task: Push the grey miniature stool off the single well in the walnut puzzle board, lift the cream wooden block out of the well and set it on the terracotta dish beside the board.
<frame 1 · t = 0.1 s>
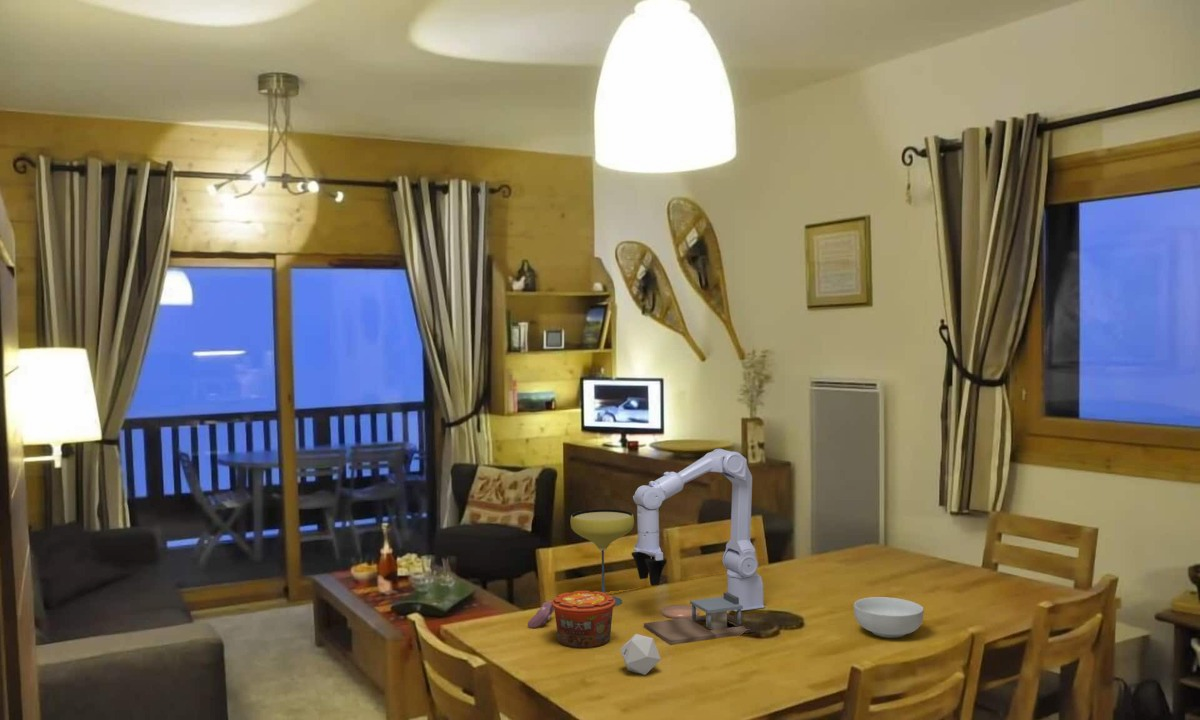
hand: (649, 581, 261), 10 cm above the table, fingers open, 7 cm apart
food container: (584, 641, 244), on the table
cereal bowl: (888, 634, 246), on the table
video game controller: (542, 624, 259), on the table
dish: (680, 613, 266), on the table
puzzle board: (699, 629, 251), on the table
grey miniature stool: (716, 609, 253), point 5 cm above the table, slide at 0.0 cm
cocktail glass: (603, 602, 279), on the table
die: (640, 671, 221), on the table
block: (716, 627, 253), resting in puzzle board
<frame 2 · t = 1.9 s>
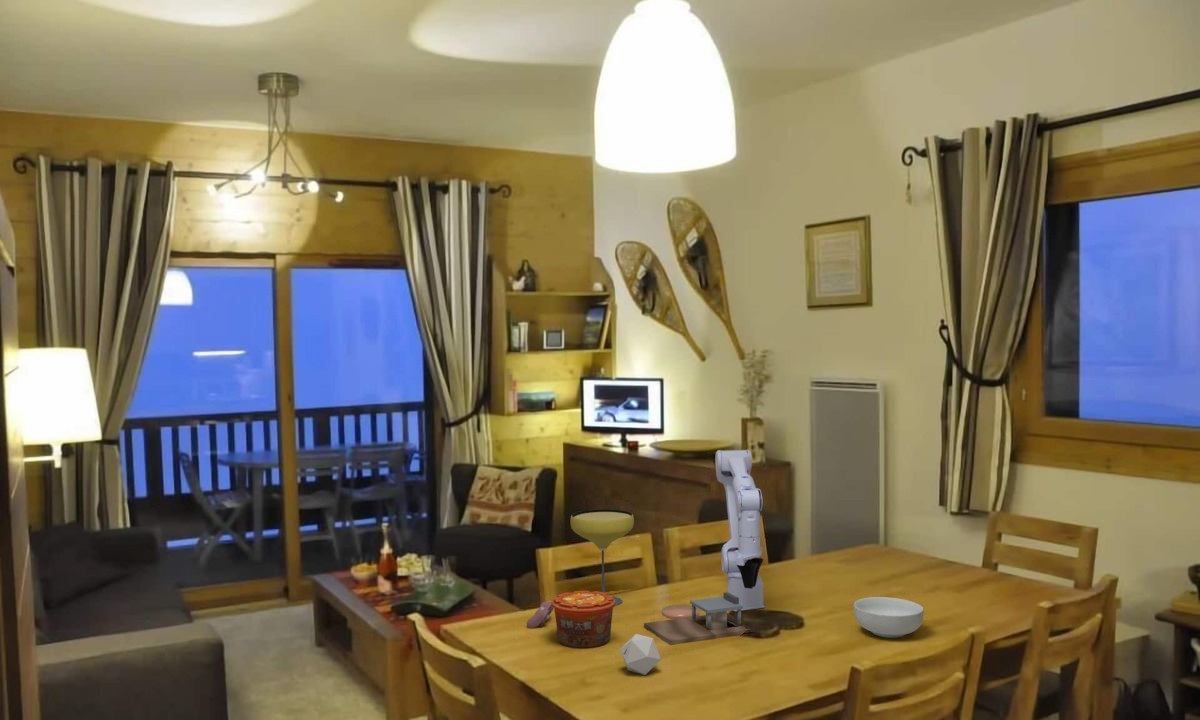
hand: (749, 587, 256), 9 cm above the table, fingers closed
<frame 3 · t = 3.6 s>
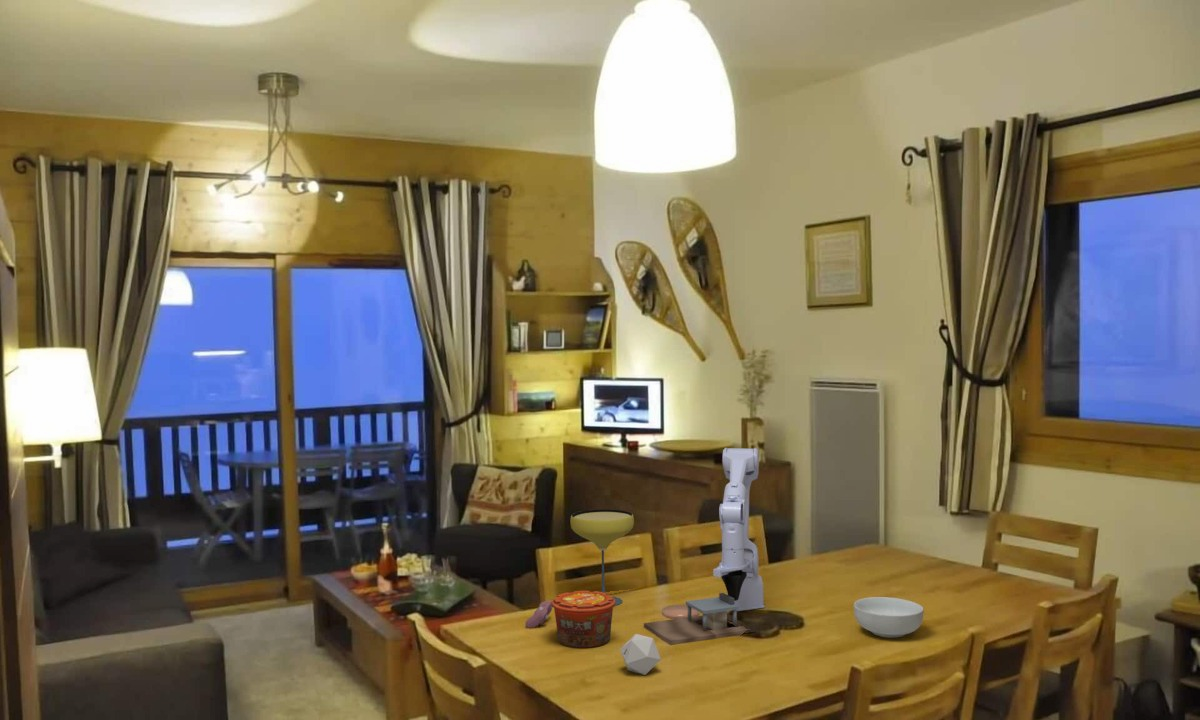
hand: (733, 599, 255), 7 cm above the table, fingers closed
grey miniature stool: (711, 609, 252), point 5 cm above the table, slide at 1.3 cm, touching gripper
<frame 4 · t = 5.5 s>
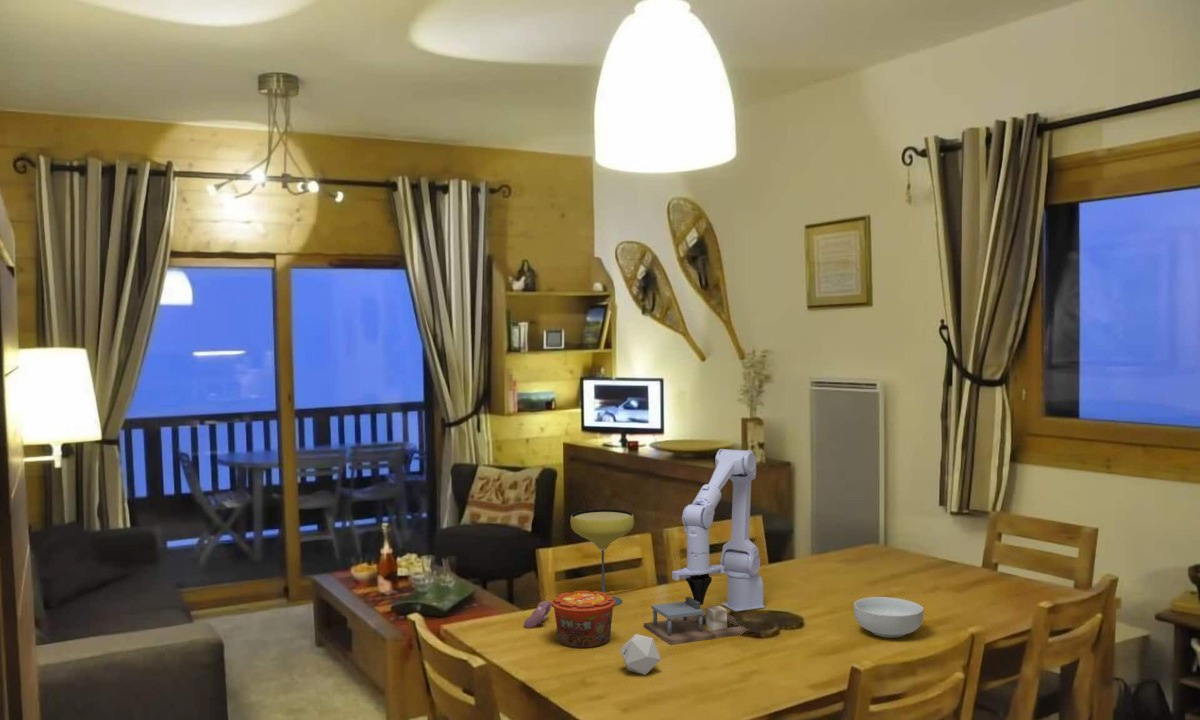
hand: (698, 604, 251), 7 cm above the table, fingers closed
grey miniature stool: (677, 614, 249), point 5 cm above the table, slide at 11.1 cm, touching gripper
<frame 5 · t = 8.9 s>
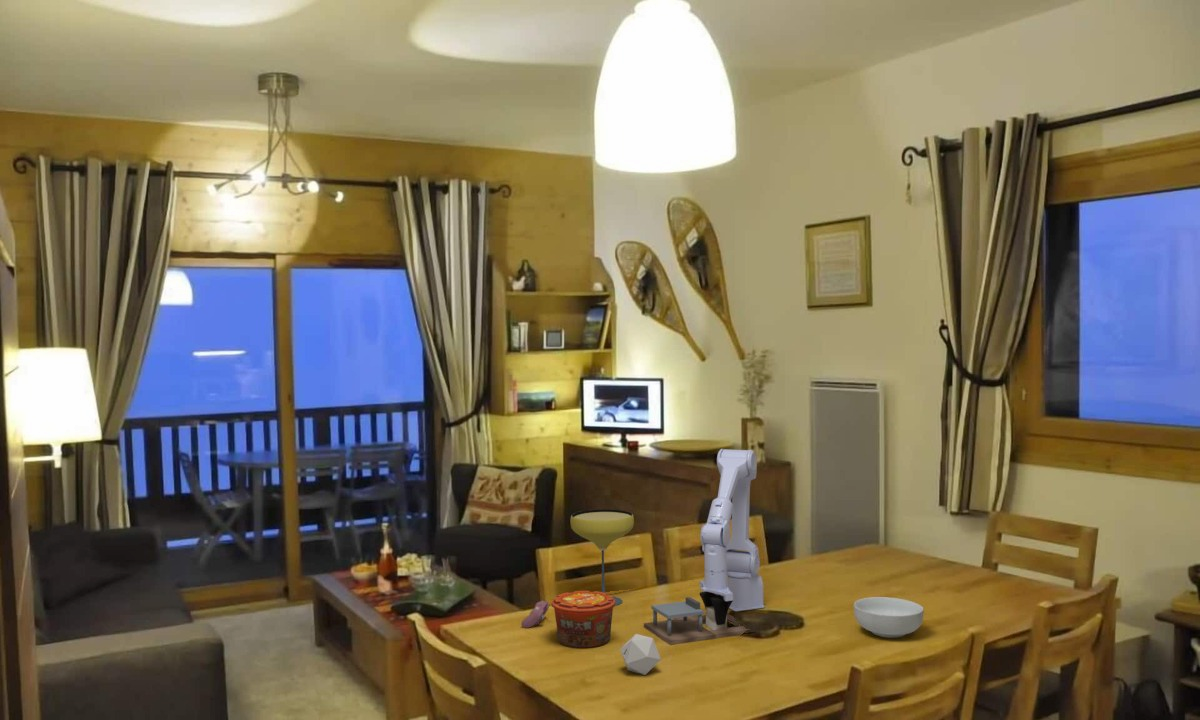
hand: (716, 622, 253), 1 cm above the table, fingers closed on block, 4 cm apart
grey miniature stool: (677, 614, 249), point 5 cm above the table, slide at 11.1 cm
block: (716, 627, 253), resting in puzzle board, touching gripper
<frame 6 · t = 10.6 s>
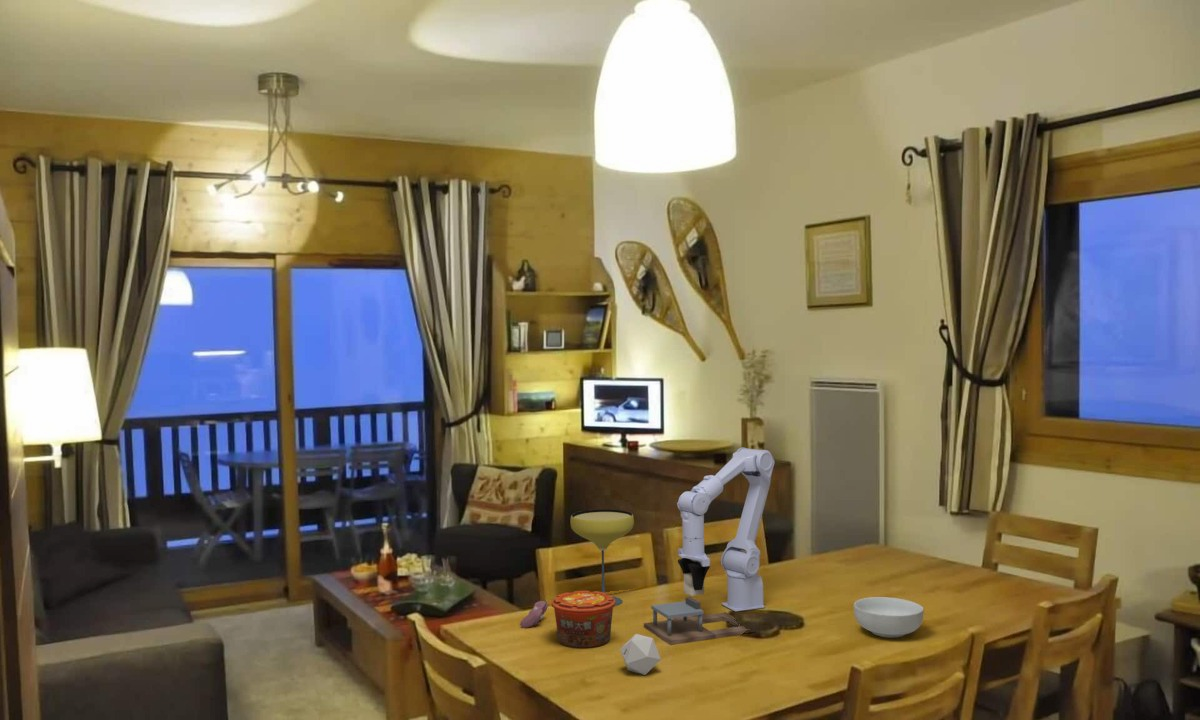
hand: (694, 587, 261), 8 cm above the table, fingers closed on block, 4 cm apart
block: (694, 593, 261), point 7 cm above the table, touching gripper
when the fingers open (4 cm above the table, at t = 12.3 s): block drops 1 cm, resting on dish.
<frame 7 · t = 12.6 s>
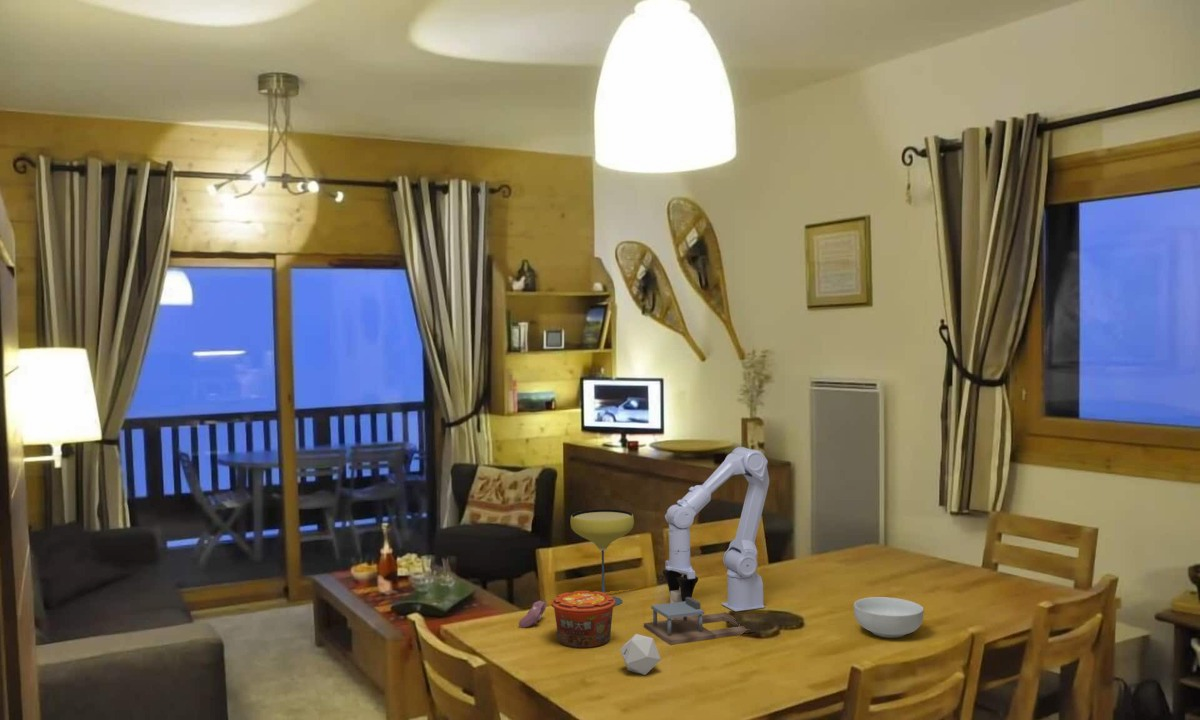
hand: (680, 599, 266), 4 cm above the table, fingers open, 7 cm apart
block: (680, 610, 266), point 1 cm above the table, touching dish
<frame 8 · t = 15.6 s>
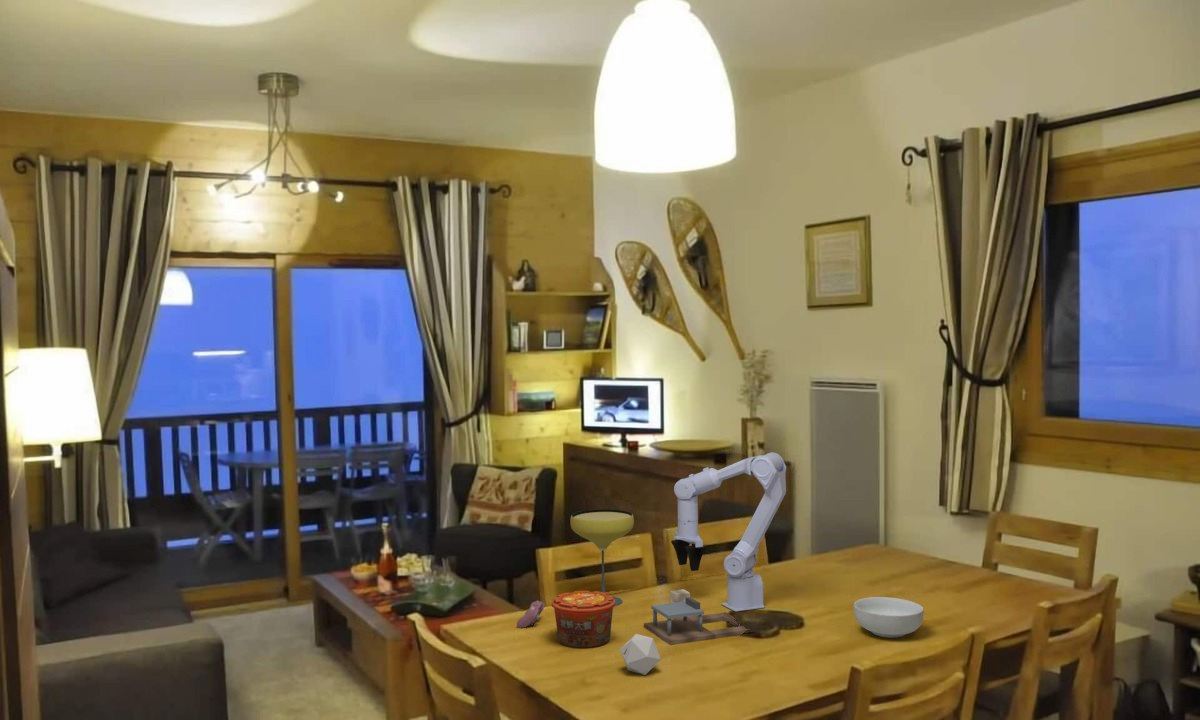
hand: (688, 567, 279), 9 cm above the table, fingers open, 7 cm apart
at the end: grey miniature stool slide at 11.1 cm; block inside the target area on the dish (0.1 cm from its centre), point 1.0 cm above the dish's base; block tilted 0° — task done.
